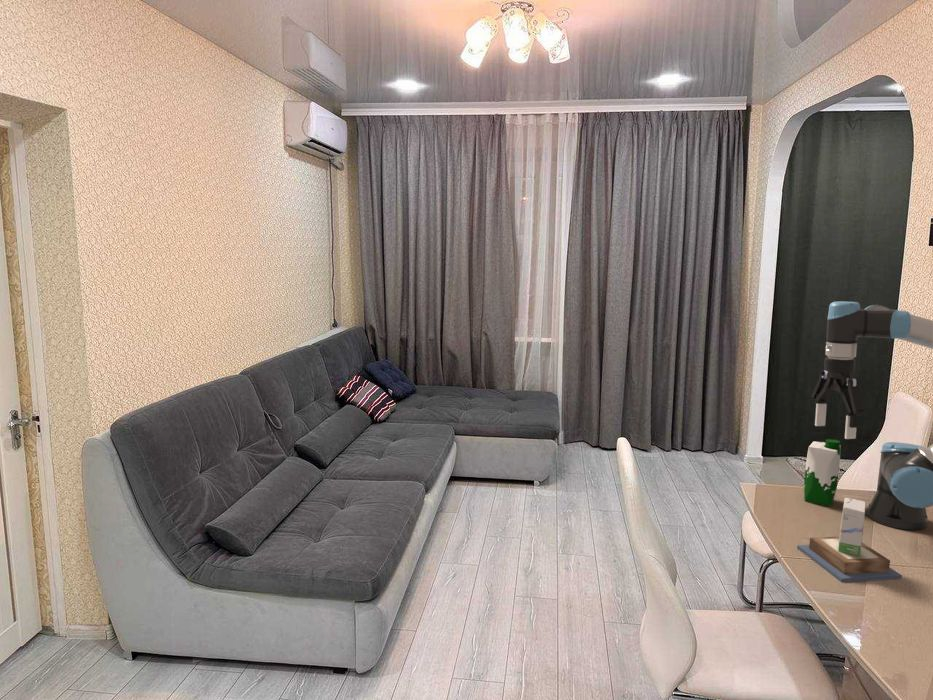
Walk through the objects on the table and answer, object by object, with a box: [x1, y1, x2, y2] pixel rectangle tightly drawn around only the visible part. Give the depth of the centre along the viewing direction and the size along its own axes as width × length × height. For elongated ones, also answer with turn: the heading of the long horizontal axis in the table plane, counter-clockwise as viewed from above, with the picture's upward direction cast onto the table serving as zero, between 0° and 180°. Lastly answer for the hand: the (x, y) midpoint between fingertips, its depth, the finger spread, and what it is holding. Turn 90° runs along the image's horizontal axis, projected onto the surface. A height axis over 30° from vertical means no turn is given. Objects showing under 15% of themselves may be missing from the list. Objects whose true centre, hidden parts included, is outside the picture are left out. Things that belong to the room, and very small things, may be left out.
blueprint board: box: [796, 544, 903, 583], centre depth 176 cm, size 16×18×1 cm
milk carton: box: [803, 438, 842, 507], centre depth 216 cm, size 9×9×20 cm
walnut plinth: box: [808, 535, 891, 574], centre depth 176 cm, size 12×14×3 cm
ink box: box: [838, 497, 866, 556], centre depth 175 cm, size 8×5×12 cm, turn 149°
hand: (834, 431), depth 194 cm, fingers open, 13 cm apart
